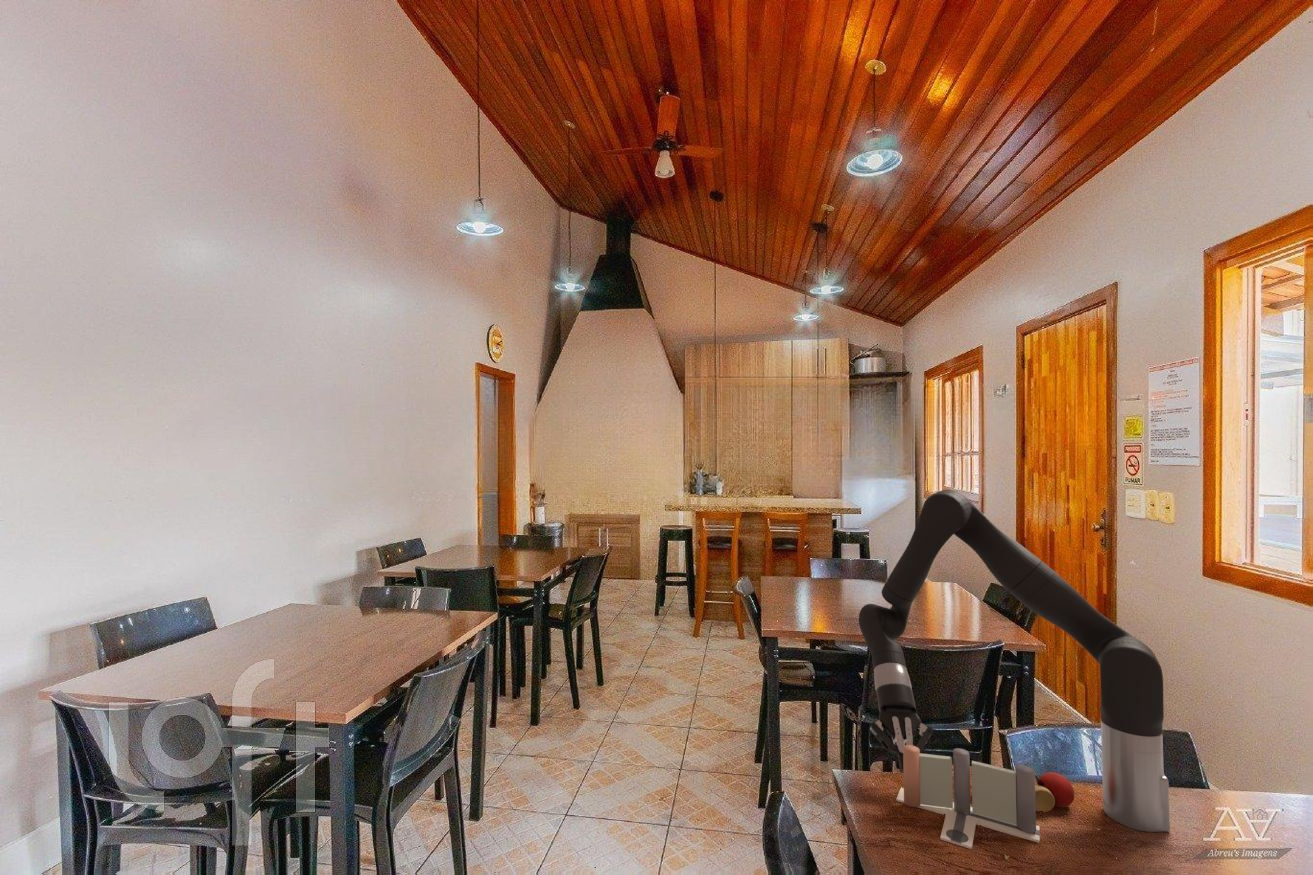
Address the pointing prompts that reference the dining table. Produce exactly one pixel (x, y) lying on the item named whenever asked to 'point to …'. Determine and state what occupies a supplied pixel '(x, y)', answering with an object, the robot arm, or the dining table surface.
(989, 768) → the fence fixed
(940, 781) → the gate
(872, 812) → the dining table surface
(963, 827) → the board
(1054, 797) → the kendama
